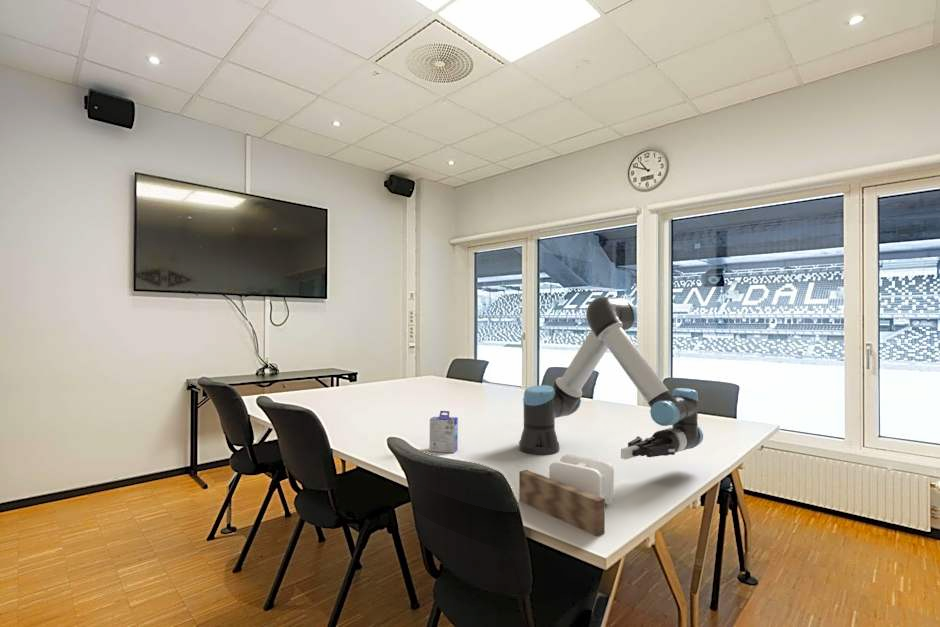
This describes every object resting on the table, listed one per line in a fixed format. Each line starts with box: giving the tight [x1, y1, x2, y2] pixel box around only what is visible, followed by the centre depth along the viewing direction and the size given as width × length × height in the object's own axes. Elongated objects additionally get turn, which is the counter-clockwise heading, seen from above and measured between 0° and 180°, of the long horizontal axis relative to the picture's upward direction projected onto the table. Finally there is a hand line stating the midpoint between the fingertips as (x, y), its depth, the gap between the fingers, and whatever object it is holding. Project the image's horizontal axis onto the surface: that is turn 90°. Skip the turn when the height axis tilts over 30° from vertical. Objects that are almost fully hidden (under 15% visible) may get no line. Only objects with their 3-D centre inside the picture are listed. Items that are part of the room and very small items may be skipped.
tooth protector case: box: [548, 454, 615, 505], centre depth 127 cm, size 15×11×12 cm
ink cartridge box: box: [428, 410, 459, 454], centre depth 178 cm, size 10×6×14 cm, turn 78°
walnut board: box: [518, 469, 606, 537], centre depth 119 cm, size 26×2×8 cm, turn 37°
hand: (623, 454), depth 135 cm, fingers closed
